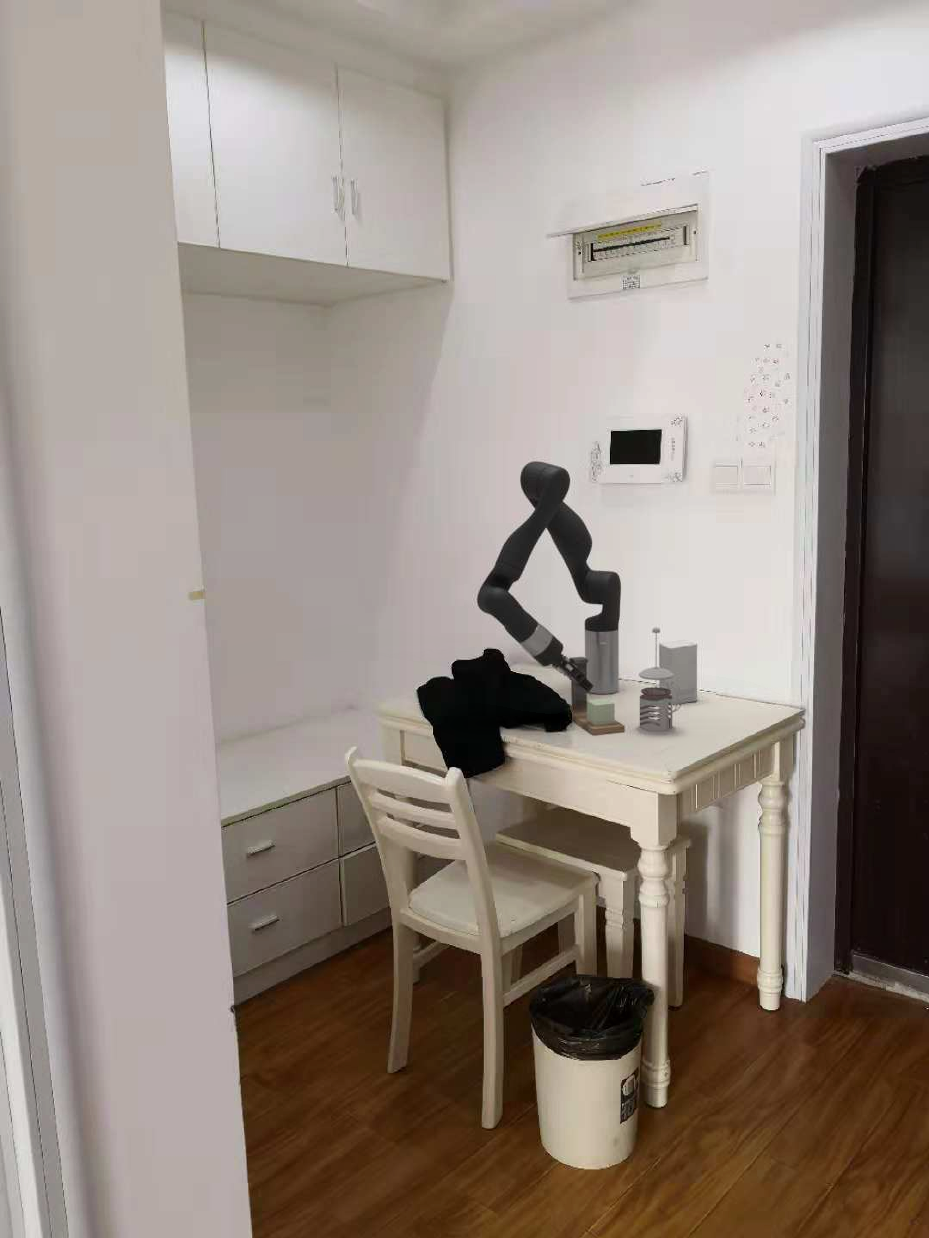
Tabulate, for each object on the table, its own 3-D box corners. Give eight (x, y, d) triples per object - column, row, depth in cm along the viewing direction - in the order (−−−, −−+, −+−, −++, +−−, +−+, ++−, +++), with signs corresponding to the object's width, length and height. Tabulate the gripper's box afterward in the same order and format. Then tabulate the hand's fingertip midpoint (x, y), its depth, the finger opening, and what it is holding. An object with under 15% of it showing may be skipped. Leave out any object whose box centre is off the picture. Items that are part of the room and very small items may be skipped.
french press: (650, 722, 257) (650, 622, 252) (691, 730, 249) (692, 627, 244) (626, 731, 250) (626, 628, 246) (668, 739, 242) (668, 633, 238)
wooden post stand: (560, 712, 268) (559, 657, 265) (589, 709, 270) (589, 655, 267) (593, 735, 247) (592, 676, 244) (624, 731, 249) (624, 673, 246)
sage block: (587, 720, 254) (586, 700, 253) (606, 718, 255) (606, 698, 254) (595, 725, 249) (594, 705, 248) (614, 723, 250) (614, 703, 249)
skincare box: (685, 696, 280) (685, 639, 278) (698, 702, 274) (699, 643, 272) (657, 699, 278) (657, 642, 275) (670, 705, 272) (670, 646, 269)
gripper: (560, 637, 253) (605, 680, 258) (540, 627, 267) (584, 668, 272) (540, 660, 253) (586, 703, 258) (521, 649, 266) (565, 690, 272)
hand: (584, 685), depth 265 cm, fingers open, 6 cm apart
